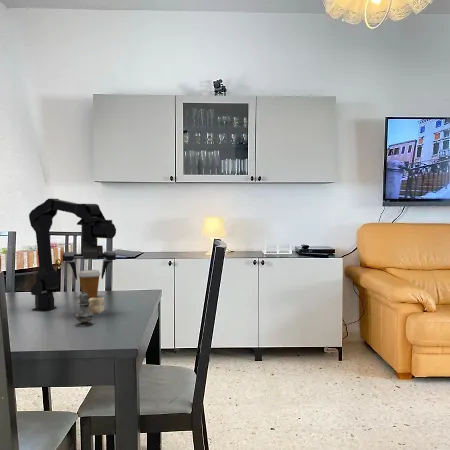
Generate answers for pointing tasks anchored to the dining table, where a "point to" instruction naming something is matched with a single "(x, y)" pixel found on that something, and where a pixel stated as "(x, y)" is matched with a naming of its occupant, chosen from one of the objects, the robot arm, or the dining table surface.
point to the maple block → (96, 305)
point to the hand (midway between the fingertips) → (89, 279)
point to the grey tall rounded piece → (84, 311)
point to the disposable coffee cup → (89, 282)
